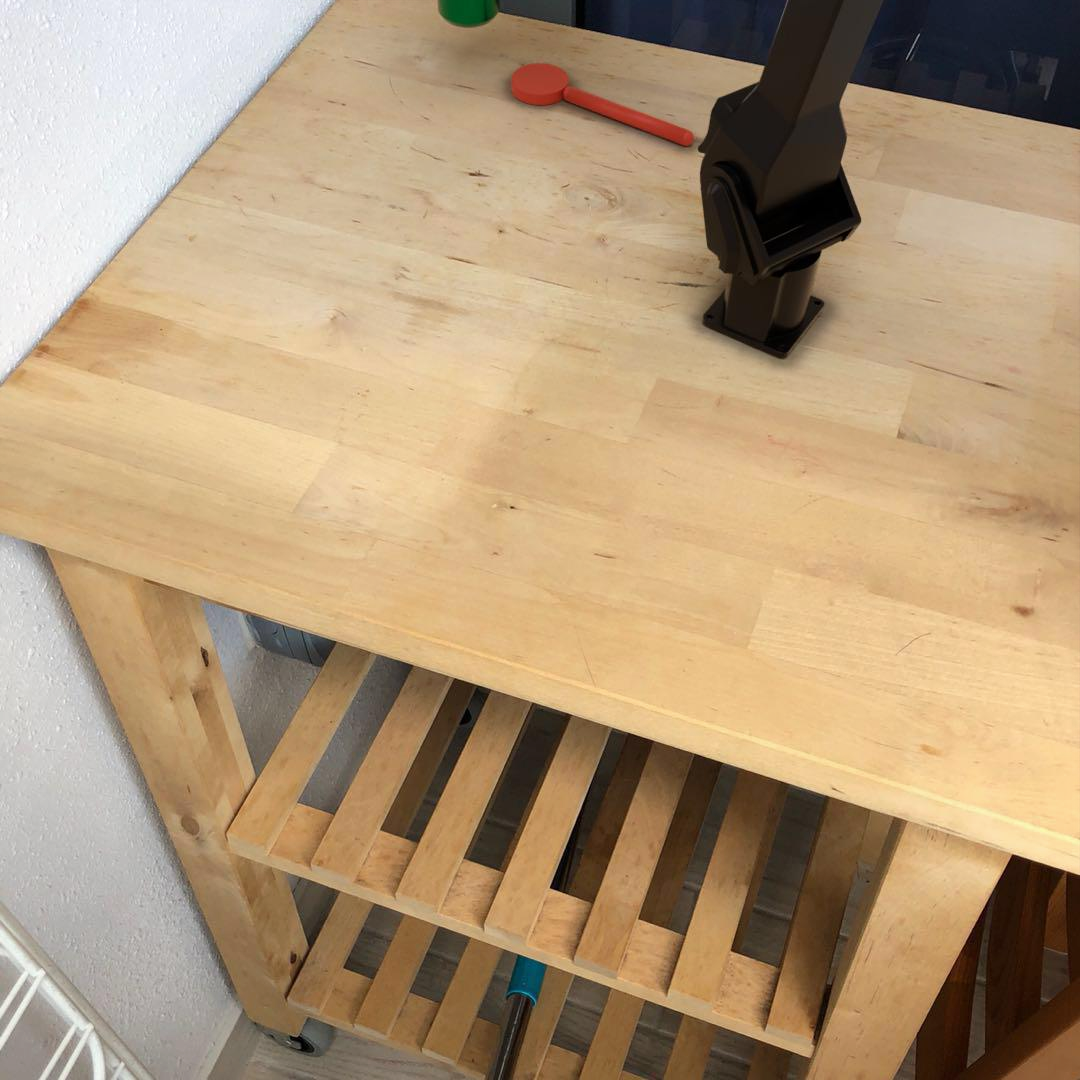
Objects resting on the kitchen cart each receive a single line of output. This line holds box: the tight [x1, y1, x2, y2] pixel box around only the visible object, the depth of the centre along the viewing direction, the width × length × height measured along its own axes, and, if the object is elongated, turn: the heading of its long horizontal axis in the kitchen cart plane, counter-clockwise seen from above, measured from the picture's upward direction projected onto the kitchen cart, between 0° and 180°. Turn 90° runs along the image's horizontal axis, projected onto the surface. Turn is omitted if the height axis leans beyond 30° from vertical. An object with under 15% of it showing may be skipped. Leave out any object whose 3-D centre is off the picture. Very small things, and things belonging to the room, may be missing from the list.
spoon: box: [510, 62, 695, 147], centre depth 97 cm, size 17×5×1 cm, turn 57°
